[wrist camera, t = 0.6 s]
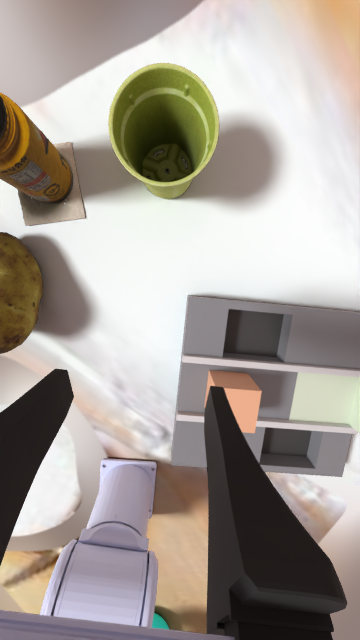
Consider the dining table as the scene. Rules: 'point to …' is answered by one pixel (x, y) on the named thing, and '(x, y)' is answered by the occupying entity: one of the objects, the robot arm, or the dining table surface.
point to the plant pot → (164, 127)
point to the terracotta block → (238, 396)
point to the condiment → (37, 169)
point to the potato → (17, 292)
